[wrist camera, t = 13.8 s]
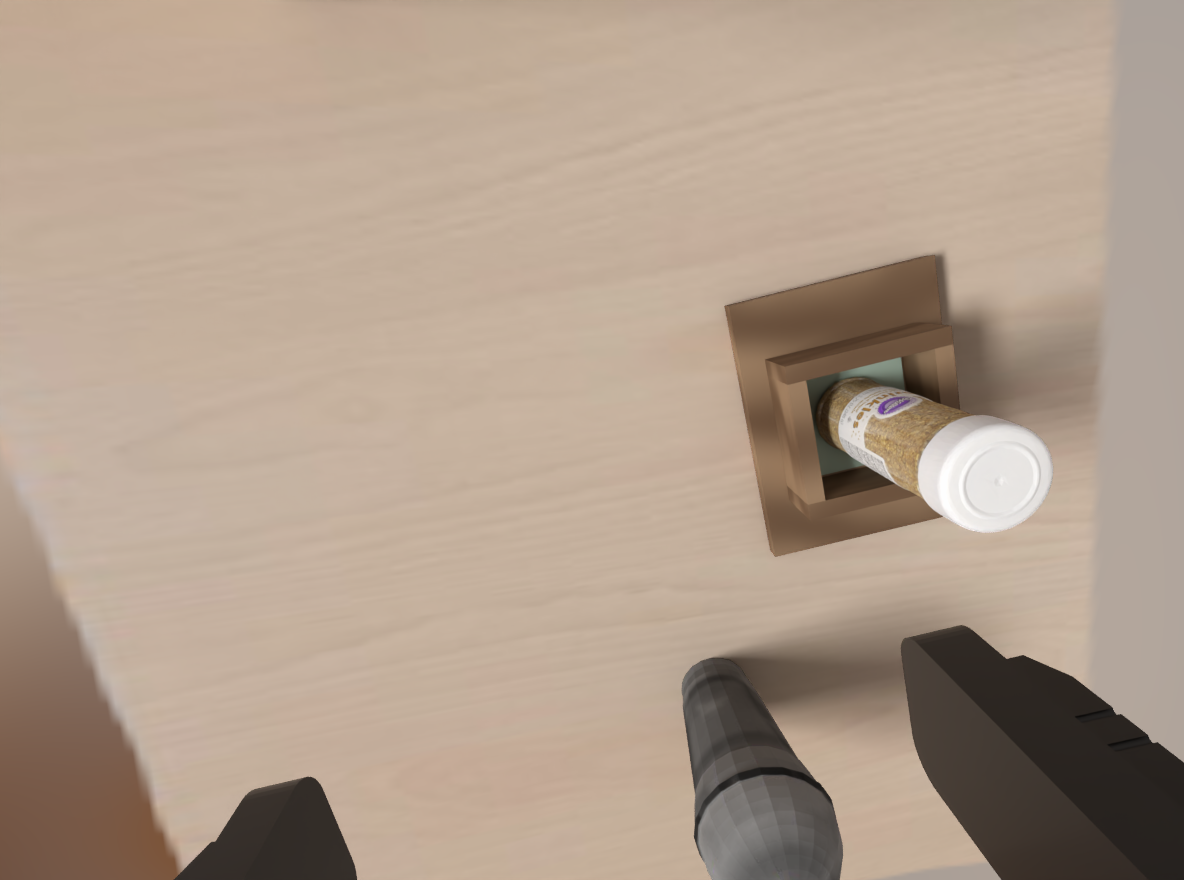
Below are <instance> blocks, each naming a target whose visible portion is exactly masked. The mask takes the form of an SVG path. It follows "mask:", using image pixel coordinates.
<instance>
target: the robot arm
mask: <svg viewBox="0 0 1184 880" xmlns="http://www.w3.org/2000/svg"><path fill="white" fill-rule="evenodd" d="M901 655H902V663H903V670H904V677H905V684H906V692H907V699H908V706H909V713H910V721H911V728H912V735H913V740H914V744H915V747H916V750H917V753H918V756H919V759H920V761H921V763H922V766H923V768H924V770H925V772H926V774H927V776H928V778H929V780H930V781H931V783H932V785H933V786H934V788H935V789H936V791H937V792H938V794H939V795H940V796H941V798H942V799H943V800H944V802H945V803H946V804H947V806H948V807H949V809H950V810H951V811H952V813H953V814H954V815H955V817H956V818H957V820H958V821H959V822H960V824H961V825H962V826H963V828H964V829H965V831H966V832H967V833H968V835H969V836H970V837H971V839H972V840H973V841H974V843H975V844H976V846H977V847H978V848H979V850H980V851H981V852H982V854H983V855H984V857H985V858H986V859H987V861H988V862H989V863H990V865H991V866H992V867H993V869H994V870H995V872H996V873H997V874H998V876H999V877H1000V878H1001V880H1184V763H1183V762H1182V761H1181V760H1180V759H1178V758H1177V757H1176V756H1175V755H1173V754H1172V753H1170V752H1169V751H1168V750H1167V749H1165V748H1164V747H1163V746H1161V745H1160V744H1159V743H1158V742H1157V743H1152V742H1151V740H1150V739H1149V737H1148V735H1147V734H1146V733H1145V732H1143V731H1142V730H1141V729H1140V728H1138V727H1137V726H1136V725H1134V724H1133V723H1132V722H1130V721H1129V720H1128V719H1127V718H1125V717H1124V716H1123V715H1121V714H1120V715H1116V714H1115V712H1114V710H1113V708H1112V707H1111V706H1110V705H1108V704H1107V703H1106V702H1105V701H1103V700H1102V699H1101V698H1099V697H1098V696H1097V695H1096V694H1094V693H1093V692H1092V691H1090V690H1089V689H1088V688H1087V687H1085V686H1084V685H1083V684H1081V683H1080V682H1079V681H1077V680H1076V679H1075V678H1074V677H1072V676H1070V675H1068V674H1065V673H1063V672H1061V671H1058V670H1056V669H1054V668H1051V667H1049V666H1047V665H1045V664H1042V663H1040V662H1038V661H1035V660H1033V659H1031V658H1029V657H1026V656H1024V655H1022V656H1018V657H1013V658H1009V659H1006V658H1005V657H1003V656H1002V655H1001V654H1000V653H999V652H998V651H996V650H995V649H994V648H993V647H992V646H990V645H989V644H988V643H987V642H986V641H985V640H983V639H982V638H981V637H980V636H979V635H978V634H976V633H975V632H974V631H973V630H971V629H970V628H968V627H966V626H963V625H960V626H956V627H951V628H947V629H943V630H938V631H934V632H930V633H926V634H921V635H917V636H913V637H909V638H905V639H904V640H903V642H902V645H901ZM174 880H357V875H356V870H355V865H354V862H353V860H352V857H351V855H350V853H349V850H348V848H347V845H346V843H345V841H344V838H343V836H342V834H341V831H340V829H339V826H338V824H337V822H336V819H335V817H334V815H333V812H332V810H331V807H330V805H329V803H328V800H327V798H326V796H325V793H324V791H323V789H322V787H321V785H320V783H319V782H318V781H317V780H316V779H315V778H312V777H305V778H301V779H296V780H292V781H288V782H284V783H279V784H275V785H271V786H267V787H262V788H258V789H254V790H252V791H251V792H249V793H248V794H247V795H246V796H245V797H244V798H243V800H242V801H241V803H240V804H239V806H238V807H237V809H236V810H235V812H234V813H233V815H232V817H231V818H230V820H229V821H228V823H227V824H226V826H225V828H224V829H223V831H222V832H221V834H220V835H219V837H218V838H217V840H216V841H215V842H211V843H210V844H209V845H208V846H207V847H206V848H205V849H204V850H203V851H202V852H201V853H200V854H199V855H198V856H197V857H196V858H195V859H194V860H193V861H192V862H191V863H190V864H189V865H188V866H187V867H186V868H185V869H184V870H183V871H182V872H181V873H180V874H179V875H178V876H177V877H176V878H175V879H174Z"/></svg>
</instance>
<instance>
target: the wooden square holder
mask: <svg viewBox="0 0 1184 880" xmlns="http://www.w3.org/2000/svg"><path fill="white" fill-rule="evenodd" d="M725 311H726V316H727V321H728V327H729V332H730V337H731V343H732V348H733V353H734V359H735V364H736V369H737V375H738V380H739V385H740V391H741V396H742V401H743V407H744V412H745V417H746V423H747V428H748V433H749V439H750V444H751V449H752V455H753V460H754V465H755V471H756V476H757V481H758V487H759V492H760V497H761V503H762V508H763V513H764V519H765V524H766V529H767V535H768V540H769V545H770V550H771V552H772V553H773V554H774V556H775V557H777V556H781V555H785V554H789V553H793V552H798V551H802V550H806V549H810V548H814V547H819V546H823V545H827V544H831V543H835V542H839V541H844V540H848V539H852V538H856V537H860V536H864V535H869V534H873V533H877V532H881V531H885V530H890V529H894V528H898V527H902V526H906V525H910V524H915V523H919V522H923V521H927V520H931V519H936V518H940V517H943V516H942V515H940V514H939V513H937V512H936V511H934V510H933V509H932V508H931V507H930V506H929V505H928V504H927V503H926V501H925V500H924V499H922V498H921V497H919V496H917V495H916V494H914V493H912V492H911V491H908V490H906V489H904V488H902V487H900V486H898V485H897V484H895V483H894V482H892V481H890V480H889V479H887V478H885V477H884V476H882V475H880V474H879V473H877V472H875V471H874V470H872V469H870V468H869V467H867V466H865V465H864V464H862V463H860V462H859V461H857V460H855V459H854V458H852V457H851V456H850V455H849V454H848V453H846V452H844V451H842V450H839V449H836V448H834V447H832V446H831V445H829V444H828V443H827V442H826V441H825V440H824V439H823V438H822V437H821V435H820V433H819V430H818V427H817V423H816V412H817V406H818V404H819V402H820V400H821V398H822V396H823V395H824V393H825V392H826V391H827V390H828V389H829V388H830V387H831V386H832V385H833V384H834V383H837V382H839V381H841V380H844V379H847V378H853V377H864V378H869V379H871V380H873V381H875V382H876V383H879V384H881V385H883V386H887V387H893V388H897V389H900V390H904V391H907V392H910V393H913V394H916V395H919V396H922V397H924V398H927V399H929V400H931V401H933V402H936V403H939V404H942V405H945V406H948V407H951V408H955V409H958V410H960V405H959V395H958V385H957V375H956V365H955V356H954V346H953V336H952V326H949V325H942V320H941V311H940V301H939V292H938V282H937V273H936V263H935V255H931V256H923V257H919V258H915V259H911V260H907V261H903V262H899V263H895V264H891V265H887V266H883V267H879V268H875V269H871V270H867V271H863V272H859V273H855V274H851V275H847V276H843V277H839V278H835V279H831V280H827V281H823V282H819V283H815V284H811V285H807V286H803V287H799V288H795V289H791V290H787V291H783V292H779V293H775V294H771V295H767V296H763V297H759V298H755V299H751V300H747V301H743V302H739V303H735V304H731V305H727V306H725Z"/></svg>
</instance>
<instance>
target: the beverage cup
mask: <svg viewBox="0 0 1184 880" xmlns="http://www.w3.org/2000/svg"><path fill="white" fill-rule="evenodd" d="M682 695H683V712H684V719H685V726H686V733H687V740H688V747H689V754H690V761H691V768H692V775H693V782H694V789H695V830H694V839H695V842H696V845H697V848H698V851H699V854H700V856H701V858H702V860H703V861H704V862H705V865H706V868H707V871H708V873H709V875H710V877H711V879H712V880H840V873H841V866H842V859H843V845H842V840H841V836H840V832H839V828H838V824H837V820H836V815H835V811H834V808H833V804H832V800H831V798H830V796H829V795H828V794H827V792H826V791H825V790H824V788H823V787H822V786H821V784H820V783H818V782H817V781H816V780H815V779H814V778H813V776H812V775H811V774H810V772H809V771H808V770H807V769H806V767H805V766H804V765H803V764H802V762H801V761H800V760H798V758H797V756H796V755H795V753H794V752H793V750H792V748H791V747H790V745H789V744H788V742H787V740H786V739H785V737H784V735H783V734H782V732H781V731H780V729H779V727H778V726H777V724H776V722H775V721H774V719H773V718H772V716H771V714H770V713H769V711H768V709H767V708H766V706H765V705H764V703H763V701H762V700H761V698H760V696H759V695H758V693H757V692H756V690H755V688H754V687H753V685H752V684H751V683H750V681H749V680H748V679H747V678H746V676H745V674H744V673H743V671H742V670H741V669H740V667H739V666H738V665H736V664H735V663H733V662H732V661H729V660H726V659H722V658H710V659H707V660H703V661H701V662H699V663H697V664H696V665H694V666H693V667H692V668H691V669H690V670H689V671H688V672H687V673H686V675H685V677H684V680H683V682H682Z"/></svg>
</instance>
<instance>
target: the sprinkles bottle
mask: <svg viewBox="0 0 1184 880" xmlns="http://www.w3.org/2000/svg"><path fill="white" fill-rule="evenodd" d="M816 423H817V427H818V430H819V433H820V435H821V437H822V438H823V439H824V440H825V441H826V442H827V443H828V444H829V445H831V446H832V447H834V448H836V449H839V450H842V451H844V452H846V453H848V454H849V455H850V456H851V457H852V458H854V459H855V460H857V461H859V462H860V463H862V464H864V465H865V466H867V467H869V468H870V469H872V470H874V471H875V472H877V473H879V474H880V475H882V476H884V477H885V478H887V479H889V480H890V481H892V482H894V483H895V484H897V485H898V486H900V487H902V488H904V489H906V490H908V491H911V492H912V493H914V494H916V495H917V496H919V497H921V498H922V499H924V500H925V501H926V503H927V504H928V505H929V506H930V507H931V508H932V509H933V510H934V511H936V512H937V513H939V514H940V515H942V516H943V517H945V518H947V519H949V520H950V521H952V522H954V523H956V524H957V525H959V526H961V527H963V528H966V529H968V530H971V531H976V532H985V533H990V532H999V531H1003V530H1006V529H1009V528H1012V527H1014V526H1016V525H1018V524H1020V523H1022V522H1023V521H1025V520H1026V519H1027V518H1029V517H1030V516H1031V515H1032V514H1033V513H1034V512H1035V511H1036V510H1037V509H1038V508H1039V507H1040V505H1041V504H1042V503H1043V501H1044V499H1045V498H1046V496H1047V494H1048V492H1049V489H1050V486H1051V483H1052V478H1053V464H1052V458H1051V454H1050V452H1049V450H1048V448H1047V446H1046V445H1045V443H1044V442H1043V440H1042V439H1041V438H1040V437H1039V436H1038V435H1037V434H1035V433H1034V432H1033V431H1031V430H1029V429H1028V428H1025V427H1023V426H1021V425H1018V424H1015V423H1013V422H1010V421H1007V420H1004V419H1001V418H997V417H994V416H989V415H976V416H975V415H973V414H969V413H966V412H964V411H961V410H958V409H955V408H951V407H948V406H945V405H942V404H939V403H936V402H933V401H931V400H929V399H927V398H924V397H922V396H919V395H916V394H913V393H910V392H907V391H904V390H900V389H897V388H893V387H887V386H883V385H881V384H879V383H876V382H875V381H873V380H871V379H869V378H864V377H853V378H847V379H844V380H841V381H839V382H837V383H834V384H833V385H832V386H831V387H830V388H829V389H828V390H827V391H826V392H825V393H824V395H823V396H822V398H821V400H820V402H819V404H818V406H817V412H816Z"/></svg>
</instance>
